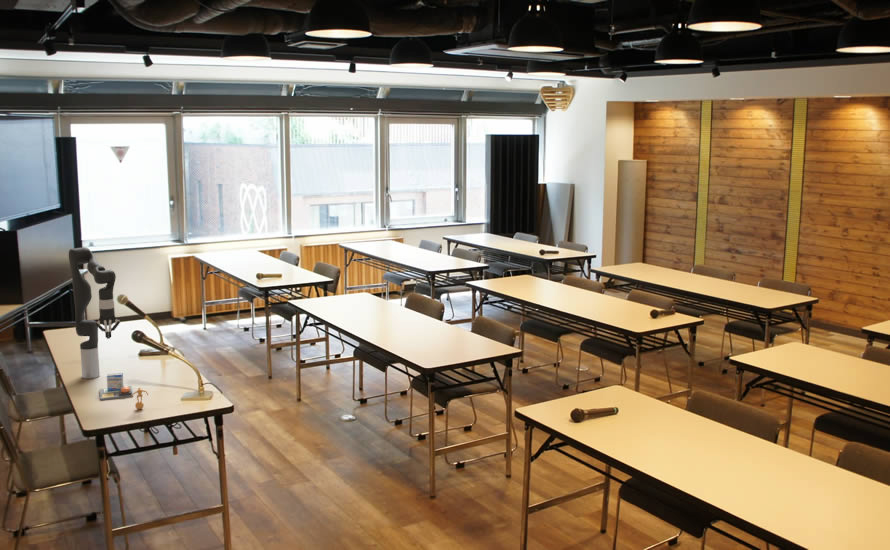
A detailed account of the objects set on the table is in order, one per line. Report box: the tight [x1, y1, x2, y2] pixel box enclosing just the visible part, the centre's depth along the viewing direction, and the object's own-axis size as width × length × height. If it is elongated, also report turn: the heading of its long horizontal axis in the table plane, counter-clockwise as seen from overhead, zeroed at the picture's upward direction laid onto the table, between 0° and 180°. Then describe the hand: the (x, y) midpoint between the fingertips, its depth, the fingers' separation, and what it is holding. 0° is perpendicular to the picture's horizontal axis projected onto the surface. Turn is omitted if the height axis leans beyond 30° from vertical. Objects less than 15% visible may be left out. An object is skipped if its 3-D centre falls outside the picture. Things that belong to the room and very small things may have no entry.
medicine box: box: [106, 372, 124, 391], centre depth 423 cm, size 8×4×9 cm, turn 109°
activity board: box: [99, 385, 134, 401], centre depth 420 cm, size 17×16×2 cm
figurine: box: [130, 387, 149, 410], centre depth 395 cm, size 8×6×12 cm
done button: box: [121, 387, 130, 393], centre depth 417 cm, size 4×4×2 cm
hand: (108, 338), depth 422 cm, fingers closed
